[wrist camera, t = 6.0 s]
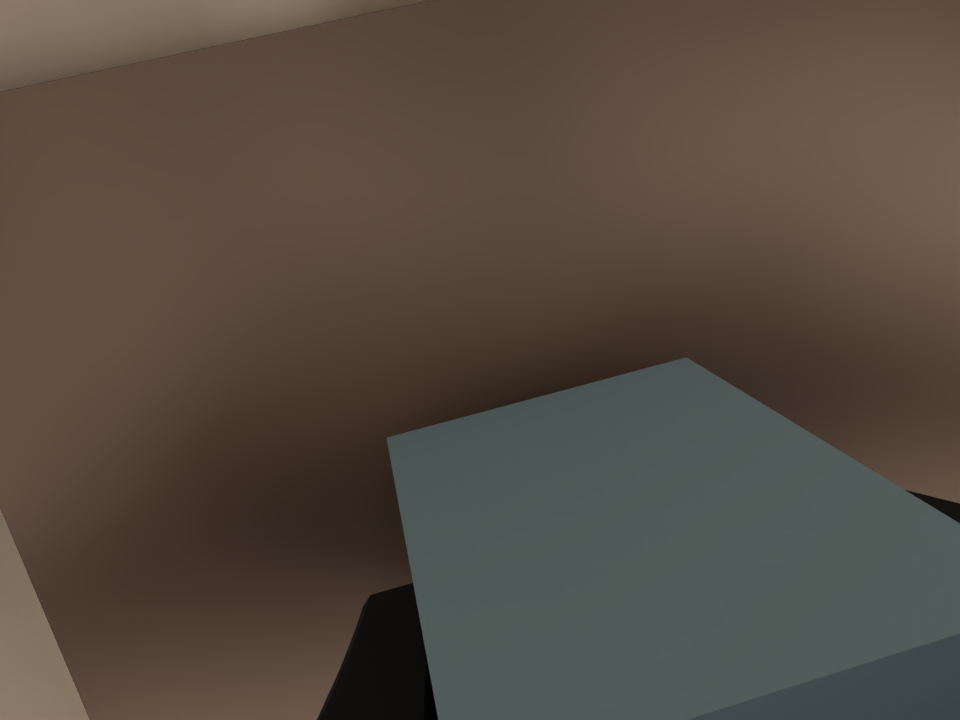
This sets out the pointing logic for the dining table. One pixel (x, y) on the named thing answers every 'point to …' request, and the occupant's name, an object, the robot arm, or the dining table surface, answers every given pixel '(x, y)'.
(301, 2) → the dining table surface
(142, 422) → the walnut base
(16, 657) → the dining table surface
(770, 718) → the teal block
